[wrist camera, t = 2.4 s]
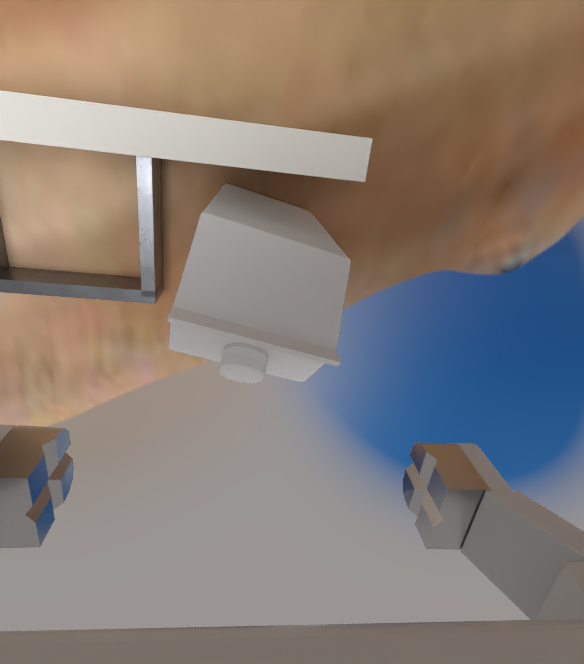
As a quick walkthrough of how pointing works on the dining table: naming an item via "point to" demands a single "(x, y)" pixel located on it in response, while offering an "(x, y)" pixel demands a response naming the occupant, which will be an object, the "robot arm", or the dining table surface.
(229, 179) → the dining table surface
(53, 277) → the cleat bracket
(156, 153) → the wall board
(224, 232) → the milk carton
